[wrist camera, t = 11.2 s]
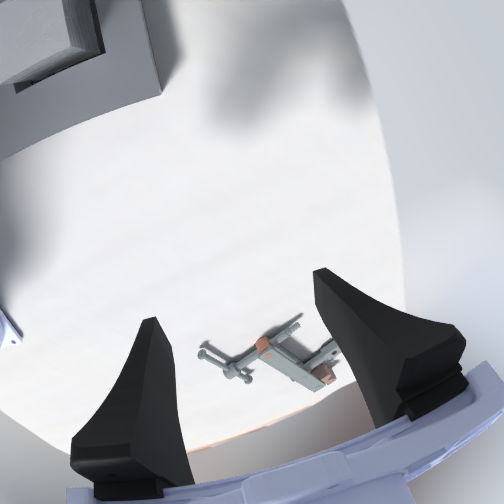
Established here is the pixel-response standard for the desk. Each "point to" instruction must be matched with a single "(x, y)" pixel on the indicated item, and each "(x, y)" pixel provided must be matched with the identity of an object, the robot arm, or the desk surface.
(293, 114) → the desk surface
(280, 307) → the desk surface
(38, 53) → the square bit
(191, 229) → the desk surface
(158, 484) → the robot arm
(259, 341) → the clamp
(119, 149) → the desk surface
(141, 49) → the plate
